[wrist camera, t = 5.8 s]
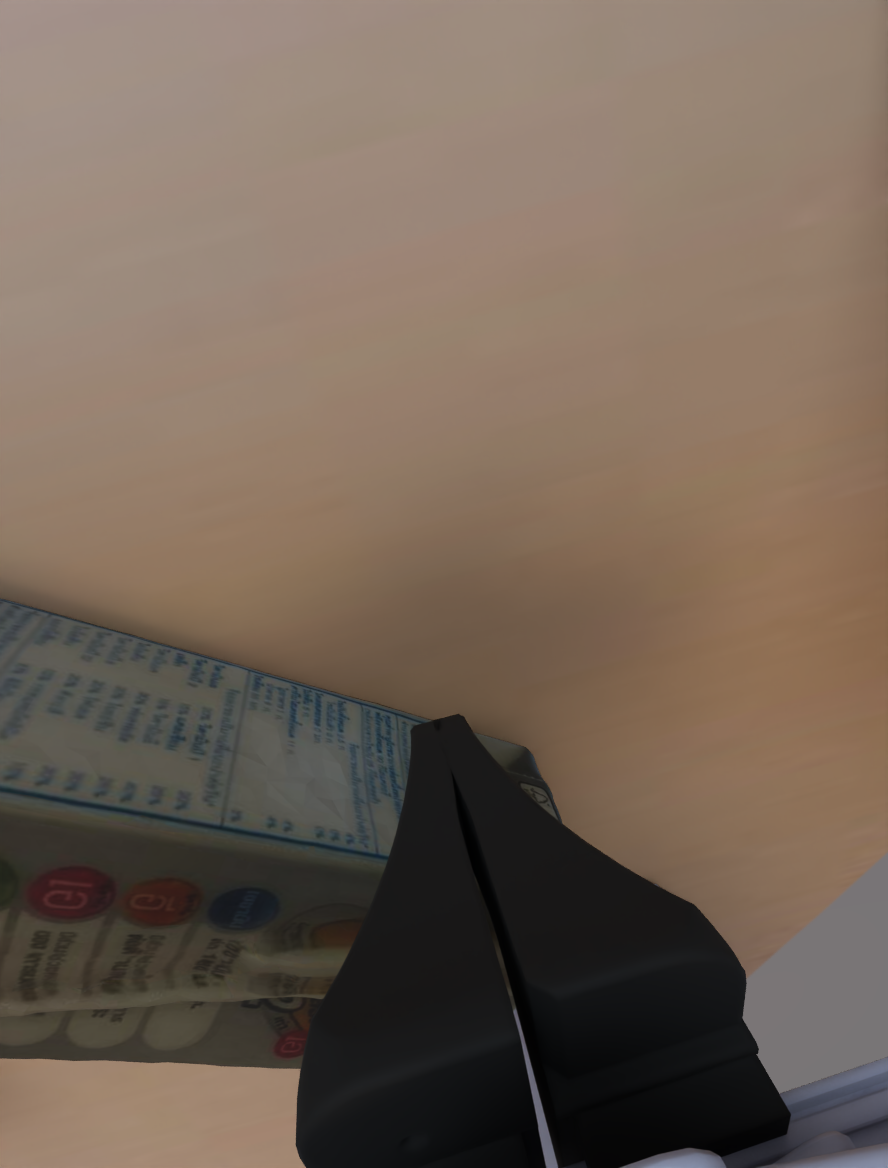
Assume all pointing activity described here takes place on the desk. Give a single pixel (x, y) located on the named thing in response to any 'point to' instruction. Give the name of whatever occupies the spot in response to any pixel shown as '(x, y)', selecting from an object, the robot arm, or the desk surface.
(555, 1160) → the robot arm
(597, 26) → the desk surface
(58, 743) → the beverage carton
